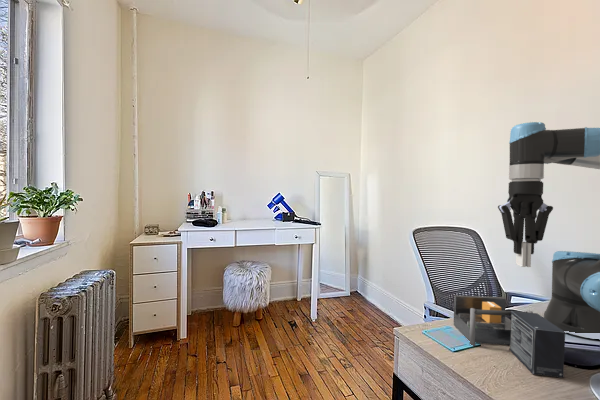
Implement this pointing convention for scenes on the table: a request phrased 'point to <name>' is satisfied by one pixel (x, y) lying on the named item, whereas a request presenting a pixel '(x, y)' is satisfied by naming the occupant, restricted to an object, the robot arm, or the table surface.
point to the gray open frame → (484, 312)
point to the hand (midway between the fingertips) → (523, 265)
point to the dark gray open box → (481, 320)
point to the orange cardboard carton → (491, 317)
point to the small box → (537, 344)
